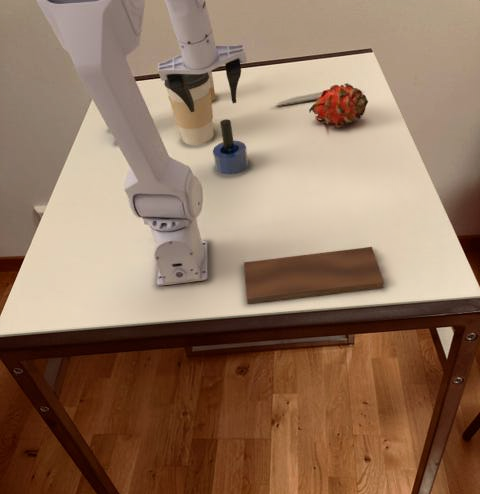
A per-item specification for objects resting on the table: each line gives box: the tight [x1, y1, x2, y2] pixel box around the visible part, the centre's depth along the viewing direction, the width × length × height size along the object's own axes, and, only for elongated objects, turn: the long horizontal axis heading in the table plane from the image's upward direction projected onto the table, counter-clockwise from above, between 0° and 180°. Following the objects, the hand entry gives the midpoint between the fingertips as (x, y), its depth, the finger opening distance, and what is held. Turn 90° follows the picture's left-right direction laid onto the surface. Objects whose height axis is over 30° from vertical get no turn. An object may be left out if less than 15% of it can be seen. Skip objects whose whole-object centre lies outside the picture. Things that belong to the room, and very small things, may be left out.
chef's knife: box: [275, 87, 356, 107], centre depth 116 cm, size 19×1×3 cm
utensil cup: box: [212, 139, 249, 175], centre depth 99 cm, size 6×6×4 cm
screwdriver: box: [219, 118, 235, 154], centre depth 97 cm, size 2×2×9 cm
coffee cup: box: [164, 72, 215, 145], centre depth 105 cm, size 9×9×15 cm
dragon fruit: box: [308, 82, 369, 129], centre depth 105 cm, size 8×8×12 cm
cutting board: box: [243, 246, 385, 305], centre depth 77 cm, size 8×20×1 cm, turn 93°
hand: (213, 103), depth 91 cm, fingers open, 7 cm apart
